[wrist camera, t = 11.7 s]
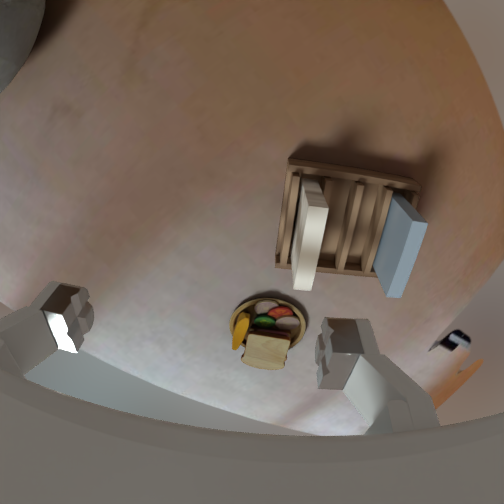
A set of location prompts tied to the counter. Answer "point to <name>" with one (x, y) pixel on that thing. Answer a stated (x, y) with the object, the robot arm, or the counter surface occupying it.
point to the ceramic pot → (17, 35)
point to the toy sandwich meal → (266, 331)
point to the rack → (334, 218)
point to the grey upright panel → (398, 245)
